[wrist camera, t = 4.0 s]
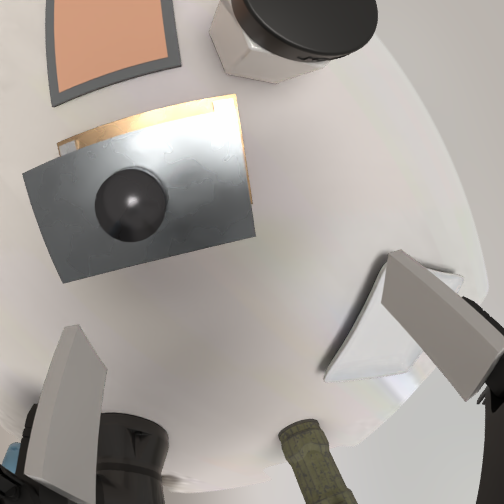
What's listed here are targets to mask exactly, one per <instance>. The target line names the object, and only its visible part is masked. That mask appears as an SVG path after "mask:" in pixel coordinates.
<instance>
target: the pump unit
mask: <svg viewBox="0 0 504 504" xmlns="http://www.w3.org/2000/svg"><path fill="white" fill-rule="evenodd" d="M57 146H58V150H59V155H60V157H58V158H56V159H53V160H51V161H49V162H46V163H44V164H42V165H40V166H38V167H35V168H33V169H31V170H29V171H27V172H25V173H23V174H22V175H23V178H24V182H25V186H26V189H27V192H28V196H29V199H30V202H31V205H32V208H33V211H34V214H35V217H36V220H37V223H38V226H39V228H40V231H41V234H42V236H43V239H44V242H45V244H46V247H47V249H48V251H49V254H50V256H51V258H52V261H53V263H54V265H55V268H56V270H57V272H58V274H59V276H60V278H61V281H62V283H63V284H64V283H68V282H71V281H75V280H79V279H83V278H87V277H91V276H95V275H99V274H103V273H107V272H110V271H114V270H118V269H122V268H126V267H130V266H134V265H138V264H142V263H146V262H150V261H155V260H159V259H163V258H167V257H171V256H175V255H179V254H183V253H187V252H192V251H196V250H200V249H204V248H208V247H212V246H217V245H221V244H225V243H229V242H234V241H238V240H242V239H247V238H251V237H255V236H256V234H255V227H254V221H253V214H252V208H251V204H253V203H252V196H251V190H250V183H249V176H248V170H247V163H246V157H245V151H244V144H243V138H242V131H241V125H240V119H239V112H238V106H237V100H236V94H232V95H225V96H219V97H213V98H207V99H201V100H196V101H191V102H186V103H182V104H177V105H173V106H168V107H164V108H160V109H156V110H152V111H149V112H145V113H141V114H138V115H134V116H131V117H127V118H124V119H121V120H118V121H115V122H111V123H108V124H105V125H103V126H100V127H97V128H94V129H91V130H88V131H86V132H83V133H80V134H78V135H75V136H73V137H70V138H68V139H65V140H63V141H61V142H58V143H57Z"/></svg>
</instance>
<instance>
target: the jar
mask: <svg viewBox="0 0 504 504" xmlns="http://www.w3.org/2000/svg"><path fill="white" fill-rule="evenodd" d="M377 21H378V10H377V4H376V1H375V0H220V1H219V4H218V7H217V10H216V13H215V15H214V18H213V21H212V24H211V27H210V30H209V34H210V36H211V38H212V41H213V43H214V46H215V48H216V50H217V53H218V55H219V58H220V60H221V63H222V65H223V68H224V70H225V73H226V74H228V75H234V76H240V77H245V78H251V79H256V80H260V81H265V82H269V83H274V84H277V83H279V82H282V81H285V80H288V79H291V78H294V77H297V76H300V75H303V74H306V73H310V72H313V71H316V70H320V69H323V68H324V67H325V66H326V65H327V64H328V63H329V62H330V61H331V60H334V59H338V58H341V57H344V56H346V55H349V54H351V53H353V52H355V51H357V50H359V49H360V48H362V47H363V46H364V45H366V44H367V43H368V41H369V40H370V39H371V38H372V36H373V34H374V32H375V29H376V26H377Z"/></svg>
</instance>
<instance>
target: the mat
mask: <svg viewBox="0 0 504 504" xmlns="http://www.w3.org/2000/svg"><path fill="white" fill-rule="evenodd" d="M45 32H46V57H47V70H48V80H49V89H50V97H51V104H52V107H56V106H58V105H60V104H63V103H65V102H67V101H70V100H72V99H74V98H77V97H79V96H82V95H84V94H87V93H90V92H92V91H95V90H98V89H101V88H104V87H106V86H109V85H112V84H115V83H119V82H122V81H125V80H128V79H132V78H135V77H139V76H142V75H146V74H150V73H154V72H158V71H162V70H167V69H171V68H176V67H181V59H180V53H179V46H178V39H177V32H176V25H175V18H174V10H173V3H172V0H46V18H45Z"/></svg>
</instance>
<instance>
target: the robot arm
mask: <svg viewBox="0 0 504 504" xmlns="http://www.w3.org/2000/svg"><path fill="white" fill-rule="evenodd" d="M381 304H382V305H383V306H384V307H385V308H386V309H387V310H388V311H389V312H390V314H391V315H392V316H393V317H394V318H395V319H396V320H397V321H398V322H399V323H400V325H401V326H402V327H403V328H404V329H405V330H406V331H407V332H408V334H409V335H410V336H411V337H412V338H413V339H414V340H415V342H416V343H417V344H418V345H419V346H420V347H421V348H422V350H423V351H424V352H425V353H426V354H427V355H428V357H429V358H430V359H431V360H432V361H433V363H434V364H435V365H436V366H437V367H438V368H439V370H440V371H441V372H442V373H443V375H444V376H445V377H446V378H447V379H448V381H449V382H450V383H451V384H452V386H453V387H454V388H455V389H456V391H457V392H458V393H459V394H460V396H461V397H462V398H463V399H464V401H465V402H466V401H467V400H469V399H470V398H471V397H473V396H474V395H475V394H476V393H477V392H478V391H479V390H480V389H481V387H482V386H483V384H484V383H486V384H487V387H486V388H485V390H484V391H483V392H482V394H481V395H480V397H479V398H478V400H477V404H480V402H481V401H482V400H483V398H484V397H485V399H484V401H483V403H482V404H483V405H485V442H484V454H483V464H482V472H481V479H480V485H479V491H478V496H477V501H476V504H504V328H503V327H502V326H501V325H500V324H499V323H498V322H497V321H495V320H494V319H493V318H492V317H490V316H489V314H488V313H487V312H486V311H483V309H482V308H481V307H480V306H479V305H478V304H476V303H475V302H474V301H472V300H470V299H468V298H466V297H464V296H463V297H460V296H459V295H458V294H457V293H456V292H454V291H453V290H452V289H451V288H450V287H448V286H447V285H446V284H445V283H444V282H442V281H441V280H440V279H439V278H437V277H436V276H435V275H434V274H432V273H431V272H430V271H429V270H427V269H426V268H425V267H424V266H422V265H421V264H420V263H418V262H417V261H416V260H414V259H413V258H412V257H410V256H409V255H408V254H407V253H405V252H404V251H402V250H397V251H394V252H391V253H388V258H387V266H386V274H385V281H384V287H383V293H382V299H381ZM106 374H107V368H106V367H105V365H104V364H103V363H102V361H101V360H100V358H99V357H98V355H97V353H96V352H95V350H94V349H93V347H92V346H91V344H90V342H89V341H88V339H87V337H86V336H85V334H84V332H83V331H82V329H81V327H80V326H79V325H73V326H68V327H64V330H63V332H62V335H61V337H60V340H59V342H58V345H57V348H56V350H55V353H54V356H53V359H52V361H51V364H50V367H49V370H48V373H47V376H46V379H45V382H44V386H43V389H42V392H41V396H40V399H39V403H38V404H34V405H33V406H32V408H31V410H30V411H29V413H28V415H27V419H26V423H25V429H24V431H23V435H22V436H23V438H22V440H21V443H18V442H15V443H12V444H11V445H10V446H9V448H8V450H7V453H6V455H5V457H4V460H3V463H2V465H1V464H0V504H165V501H164V494H163V486H162V477H161V472H162V469H163V465H164V462H165V459H166V455H167V452H168V448H169V443H168V435H167V433H166V431H165V430H164V429H163V428H161V427H160V426H159V425H157V424H155V423H153V422H151V421H148V420H146V419H143V418H139V417H135V416H131V415H125V414H113V413H111V414H101V407H102V400H103V393H104V386H105V380H106Z"/></svg>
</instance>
